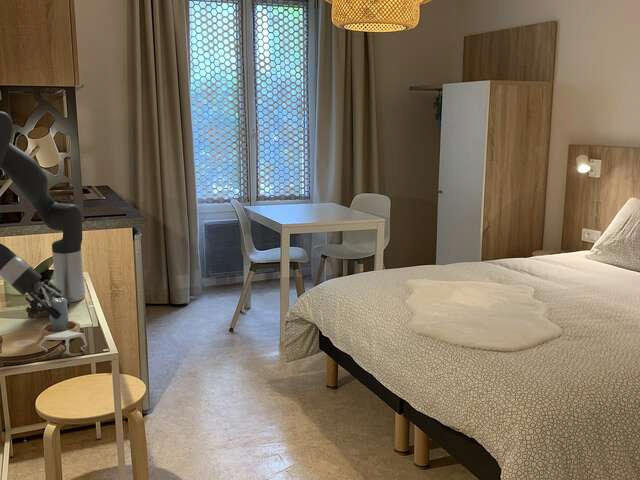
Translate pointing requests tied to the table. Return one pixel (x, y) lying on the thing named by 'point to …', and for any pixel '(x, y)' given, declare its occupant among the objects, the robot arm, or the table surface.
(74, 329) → the terracotta bowl
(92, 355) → the table surface
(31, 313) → the pottery mug
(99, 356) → the table surface
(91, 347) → the table surface
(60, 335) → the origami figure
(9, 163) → the robot arm
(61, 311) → the pebble cup
